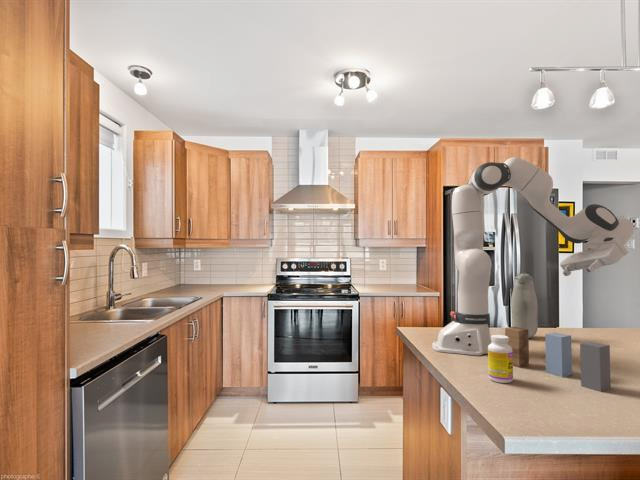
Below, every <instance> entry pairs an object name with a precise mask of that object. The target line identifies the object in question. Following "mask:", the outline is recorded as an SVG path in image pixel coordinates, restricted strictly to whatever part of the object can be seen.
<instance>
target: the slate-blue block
mask: <svg viewBox="0 0 640 480" xmlns="http://www.w3.org/2000/svg"><path fill="white" fill-rule="evenodd" d="M544 338H545V339H544V340H545V343H544V344H545V373H546V374H549V375H553V376H557V377H561V378H565V377H568V376H571V375H573V364H572V363H573V361H572V356H573V355H572V354H573V353H572V335H569V334H565V333H561V332H550V333H545V334H544Z"/></svg>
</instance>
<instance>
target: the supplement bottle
mask: <svg viewBox="0 0 640 480" xmlns="http://www.w3.org/2000/svg"><path fill="white" fill-rule="evenodd" d="M490 338H491V344H489V346H488V353H487V368H488V369H487V372H488V373H487V376H488V379H489V380H490V381H492V382H495V383H499V384H509V383H512V382H513V379H514V366H513V352H512V347H511V346H509V345H508V341H509V337H507V336H505V334H492V335H490Z"/></svg>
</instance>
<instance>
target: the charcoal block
mask: <svg viewBox="0 0 640 480" xmlns="http://www.w3.org/2000/svg"><path fill="white" fill-rule="evenodd" d="M579 348H580V349H579V353H580V355H579V357H580V359H579V360H580V386H581V387H583V388H586V389H590V390H593V391H596V392H598V393H602V392H605V391H608V390H611V389H612V387H611V386H612V385H611V383H612V382H611V350H610V348H611V347H610V344H605V343H600V342H595V341H584V342H581V343H579Z"/></svg>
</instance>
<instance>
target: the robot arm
mask: <svg viewBox="0 0 640 480" xmlns="http://www.w3.org/2000/svg"><path fill="white" fill-rule="evenodd" d="M502 186H507V187H510V188H512V189H513V190H515V191H517V192H518V193H520V194H521V195H522V196H523V197H524V198H525V199H526V200H527V203H528V205H529V207H530V208H531V209H532V210H533V211H534V212H536V213H537V214H538V215H539V216H540V217H541V218H542V219H544V220H545V221H546V222H547V223H549V225H551V226H552V227H554V228H555V230H557V232H558V233H560V235H561V236H562V237H563V238H564V239H565V240H566V241H567V242H569V243H573V244H582V243H585V242H586V241H587V240H588V241H587V242H586V243H585V244H584V246H583V251H579V252H575V253H572V254H570V255H569V256H568V257H566V258H565V259H564V260H562V261H561V262H560V263H559V265H560V267H561V269H562V270H563V271H562V274H563V276H564V277H567V276H568V277H569V276H570V275H571V274H572V272H575V271H581V270H585V271H587V273H593V272H594V271H596V270H597V269H599V268H601V267H603V266H605V267H606V266H609V265H614V264H616V263H618V262H619V261H620V260H621V259H622V258H624V256H626V255H627V254H628V253H629V251H628V249H627V248H626V246H625V245H626V244H627V243H628V241H630V239H631V238H632V236H633V234H634V231H635V225H634V224H633V223H632V221H631V220H630V219H628V218H626V217H624V216H617V215H615V214H614V213H613V212H612V210H610V209H608V208H607V207H605V206H604V205H601V204H596V203H594V204H588V205H587V206H586V207H584V208H582V209H581V210H580V211H578V212H577V213H576V214H574V215H573V216H568V215H565V213H563V212H562V211H561V210H559V209H558V208H557V207H556V206H555V205H554V204H553V203H552V202H551V199H550V197H551V195H552V192H553V188H554V181H553V178H552V175H550V174H549V173H548V172H547V171H546V170H544V169H542V168H540V167H539V166H537V165H535V164H533V163H532V162H530V161H527V160H525V159H522V158H520V157H517V156H512V157H509V158H508V159H506V160H505V161H504V162H494V161H493V162H491V161H490V162H485V163H482V164H481V165H479V166H478V167H477V168H475V170H473V172H472V174H471V176H470V177H469V179H468V181H467V183H466V184H463V185H459V186H458V187H456V188H454V190H453V192H452V194H451V195H452V197H451V216H452V225H453V236H454V237H453V240H454V241H453V247H454V251H453V252H454V264H455V268H456V270H457V272H459V278H458V288H457V311H456V312H455V311H451V312H450V316H451V319H452V321H451V322H449V323H447V324H446V325H445V326H444V327H442V328H441V329H440V330H439V331H438V336H437V340H434V341H433V342H432V344H431V347H432V349H433V350H434V351H435V352H439V353H451V354H459V355H470V356H482V355H484V354H485V355H486V354H488V346H489V344H491V343H492V340H491V332H490V328H491V315H490V312H489V288H490V283H491V282H490V281H491V271H492V266H493V265H492V259H491V256H490V255H489V254H488V253H487V252H486V251H485V250H484V239H485V238H484V235H485V225H484V217H483V208H482V207H483V206H482V199H483V197H484V196H488V195H489V194H492V193H494V192H495V191H497V190H498V189H499V188H501V187H502Z"/></svg>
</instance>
